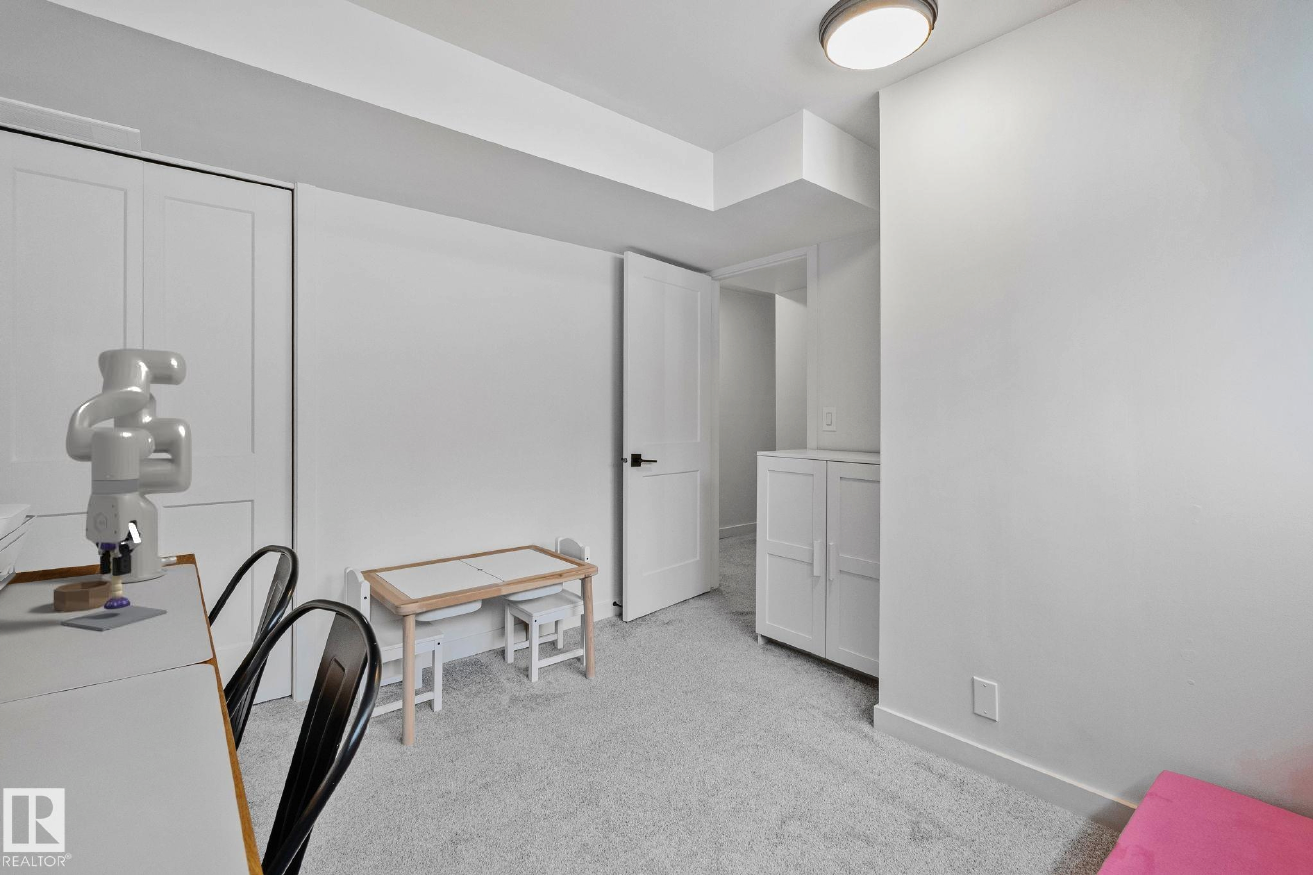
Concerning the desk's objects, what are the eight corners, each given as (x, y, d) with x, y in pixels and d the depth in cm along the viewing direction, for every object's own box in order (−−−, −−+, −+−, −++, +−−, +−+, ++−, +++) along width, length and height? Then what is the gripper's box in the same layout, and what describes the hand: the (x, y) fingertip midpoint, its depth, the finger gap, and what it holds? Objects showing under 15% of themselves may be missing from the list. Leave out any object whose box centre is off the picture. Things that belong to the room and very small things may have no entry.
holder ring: (94, 597, 140) (94, 578, 140) (122, 601, 138) (122, 582, 138) (45, 609, 131) (45, 588, 131) (74, 613, 129) (74, 592, 129)
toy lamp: (115, 610, 124) (116, 531, 124) (93, 609, 124) (94, 530, 124) (135, 603, 129) (136, 527, 128) (114, 603, 129) (115, 526, 129)
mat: (126, 607, 134) (126, 604, 134) (166, 612, 131) (166, 610, 131) (61, 624, 122) (61, 621, 122) (103, 631, 119) (103, 628, 119)
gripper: (67, 487, 124) (67, 574, 125) (123, 491, 120) (123, 582, 121) (108, 484, 132) (108, 566, 132) (163, 488, 127) (163, 573, 128)
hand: (115, 573), depth 126 cm, fingers closed on toy lamp, 2 cm apart
